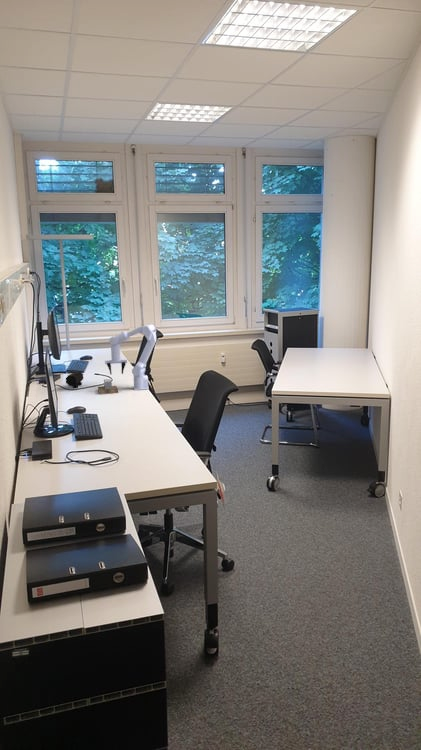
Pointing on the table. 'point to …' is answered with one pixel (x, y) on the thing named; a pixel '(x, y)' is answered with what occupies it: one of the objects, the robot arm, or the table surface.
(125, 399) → the table surface
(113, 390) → the stand
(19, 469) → the table surface
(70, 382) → the security camera
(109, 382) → the housing
